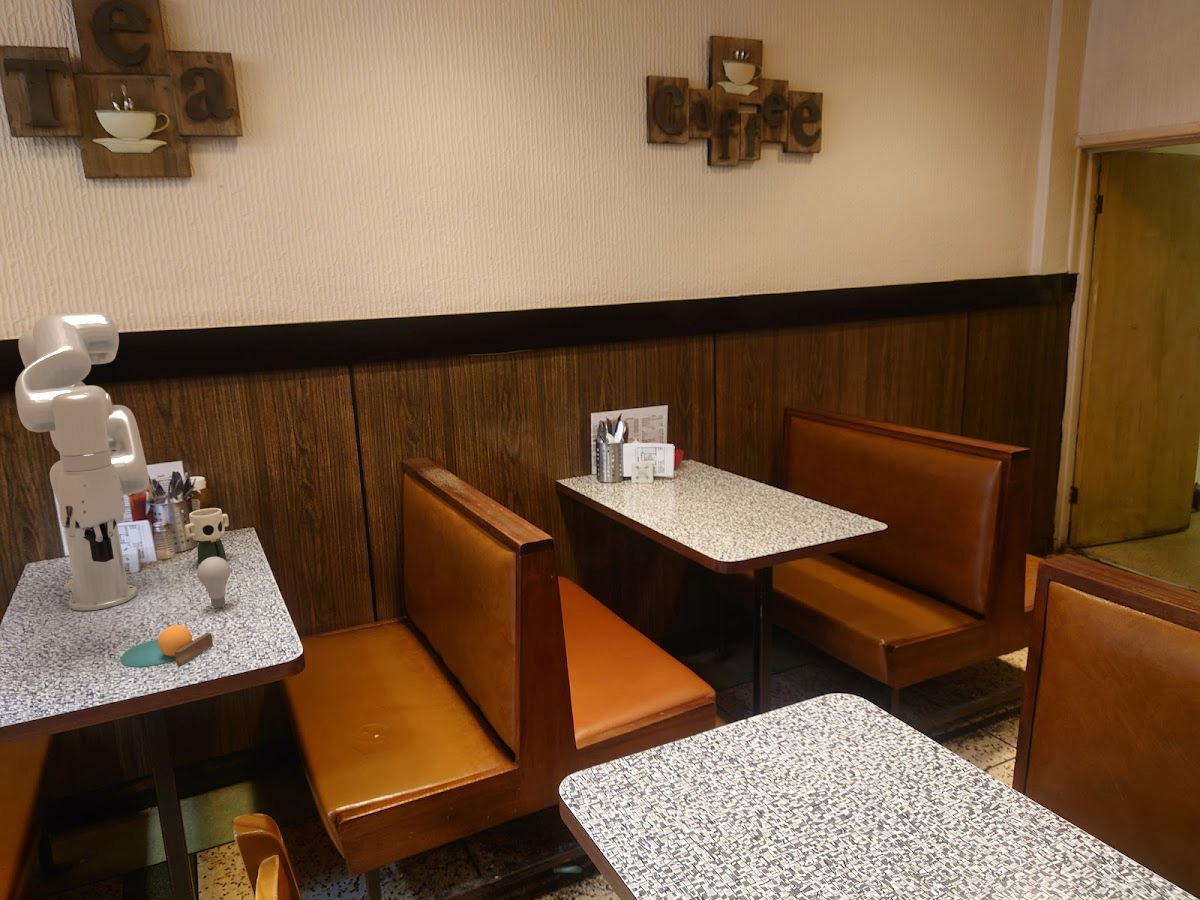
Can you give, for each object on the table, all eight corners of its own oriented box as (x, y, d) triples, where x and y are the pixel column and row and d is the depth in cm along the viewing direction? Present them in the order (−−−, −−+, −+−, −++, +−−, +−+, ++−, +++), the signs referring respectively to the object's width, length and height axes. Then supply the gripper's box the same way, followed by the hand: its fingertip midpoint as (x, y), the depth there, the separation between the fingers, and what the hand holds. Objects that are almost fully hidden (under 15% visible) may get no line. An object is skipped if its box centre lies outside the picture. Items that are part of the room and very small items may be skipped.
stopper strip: (176, 665, 146) (174, 651, 145) (208, 645, 153) (206, 632, 153) (181, 665, 145) (179, 652, 145) (213, 645, 153) (211, 633, 152)
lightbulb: (226, 613, 168) (219, 562, 166) (197, 614, 168) (189, 563, 166) (240, 602, 174) (233, 552, 172) (211, 603, 174) (204, 553, 172)
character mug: (200, 573, 192) (192, 519, 190) (182, 568, 196) (174, 516, 194) (242, 559, 201) (235, 507, 199) (224, 555, 205) (217, 504, 203)
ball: (159, 665, 147) (145, 637, 147) (182, 652, 153) (168, 625, 152) (181, 656, 146) (167, 628, 145) (204, 643, 151) (190, 616, 150)
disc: (104, 664, 147) (104, 663, 147) (155, 635, 158) (155, 634, 158) (161, 669, 144) (161, 668, 144) (209, 640, 155) (209, 639, 155)
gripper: (103, 452, 154) (119, 545, 158) (31, 471, 140) (50, 573, 144) (137, 453, 153) (151, 547, 157) (67, 472, 138) (85, 576, 142)
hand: (103, 560), depth 150 cm, fingers closed
